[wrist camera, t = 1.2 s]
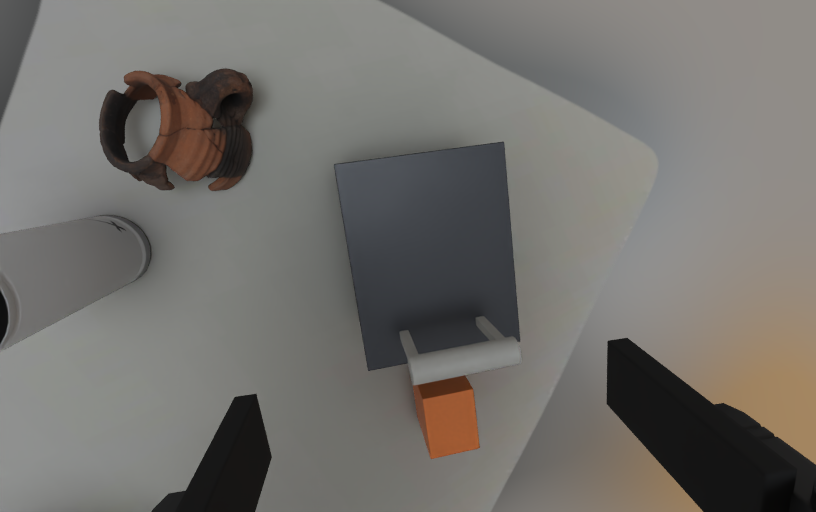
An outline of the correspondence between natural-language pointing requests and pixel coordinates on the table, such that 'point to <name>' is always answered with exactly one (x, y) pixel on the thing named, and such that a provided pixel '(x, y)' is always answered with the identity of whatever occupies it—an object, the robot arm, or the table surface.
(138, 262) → the travel mug
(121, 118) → the pottery mug
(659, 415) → the robot arm
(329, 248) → the table surface
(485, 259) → the hinged box lid
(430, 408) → the orange block
